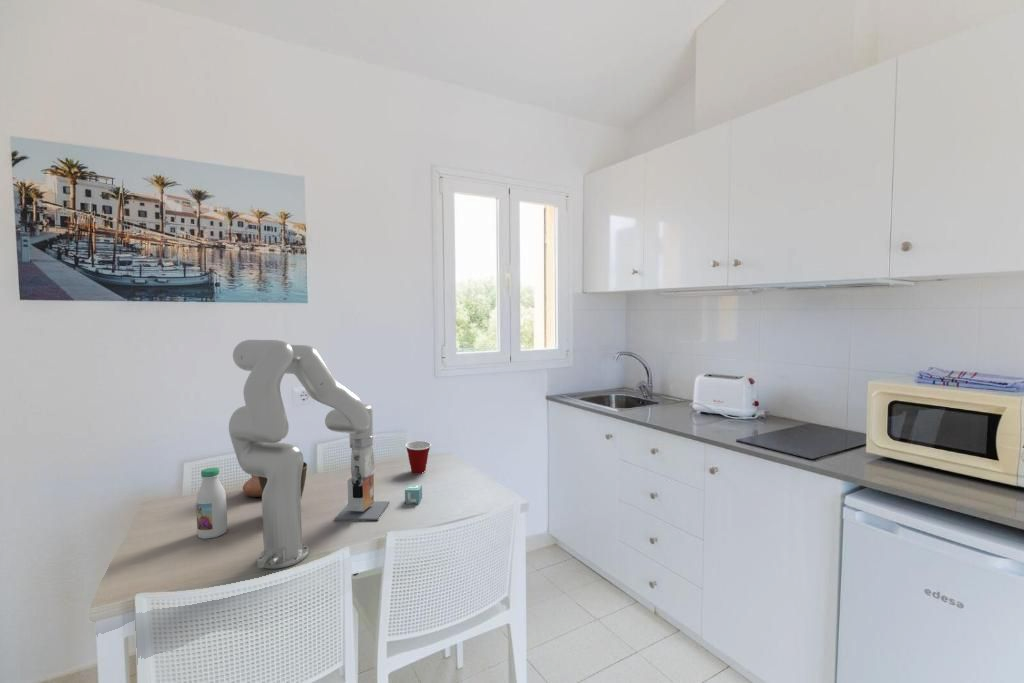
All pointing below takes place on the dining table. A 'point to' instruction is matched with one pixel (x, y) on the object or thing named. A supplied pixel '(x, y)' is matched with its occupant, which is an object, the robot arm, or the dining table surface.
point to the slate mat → (369, 514)
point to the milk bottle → (211, 505)
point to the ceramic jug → (252, 487)
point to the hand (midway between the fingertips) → (362, 492)
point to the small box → (368, 494)
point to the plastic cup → (418, 455)
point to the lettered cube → (413, 494)
